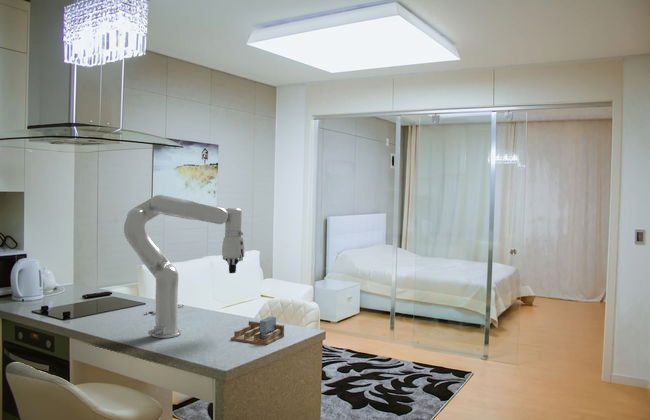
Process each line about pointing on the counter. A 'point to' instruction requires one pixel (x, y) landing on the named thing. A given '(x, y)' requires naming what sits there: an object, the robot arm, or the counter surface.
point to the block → (267, 326)
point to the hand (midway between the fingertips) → (232, 272)
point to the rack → (257, 334)
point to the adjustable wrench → (155, 311)
